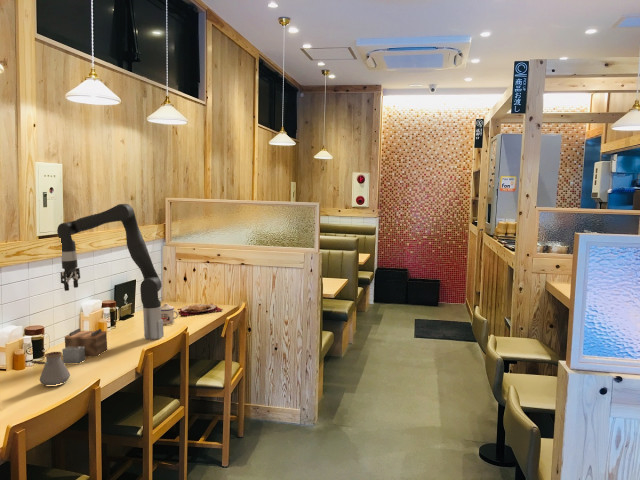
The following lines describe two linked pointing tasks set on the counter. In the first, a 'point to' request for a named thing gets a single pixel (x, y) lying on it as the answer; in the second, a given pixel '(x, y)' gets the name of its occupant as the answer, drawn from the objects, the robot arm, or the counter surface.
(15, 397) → the counter surface
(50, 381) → the coffee pot
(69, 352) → the lock block
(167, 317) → the teacup with lid
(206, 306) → the plate with food
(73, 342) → the coupler stand
